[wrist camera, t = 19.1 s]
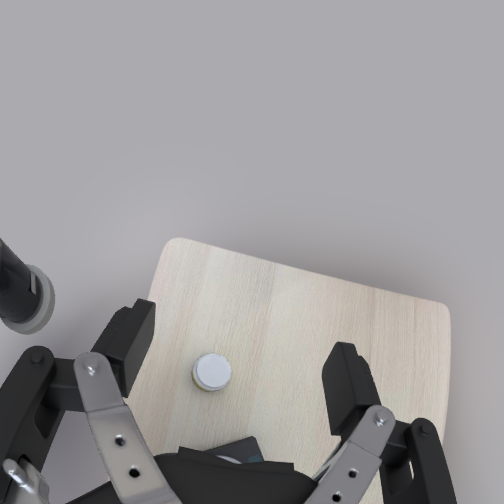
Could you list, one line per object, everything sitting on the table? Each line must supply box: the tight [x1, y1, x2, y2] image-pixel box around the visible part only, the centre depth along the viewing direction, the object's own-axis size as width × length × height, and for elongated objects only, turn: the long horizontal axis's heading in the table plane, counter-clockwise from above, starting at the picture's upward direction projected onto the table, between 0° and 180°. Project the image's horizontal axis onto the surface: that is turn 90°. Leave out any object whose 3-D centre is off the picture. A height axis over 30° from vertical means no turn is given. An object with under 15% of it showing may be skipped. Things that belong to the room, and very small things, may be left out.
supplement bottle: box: [192, 353, 231, 391], centre depth 36 cm, size 5×5×8 cm
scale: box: [203, 436, 264, 464], centre depth 31 cm, size 12×10×3 cm
